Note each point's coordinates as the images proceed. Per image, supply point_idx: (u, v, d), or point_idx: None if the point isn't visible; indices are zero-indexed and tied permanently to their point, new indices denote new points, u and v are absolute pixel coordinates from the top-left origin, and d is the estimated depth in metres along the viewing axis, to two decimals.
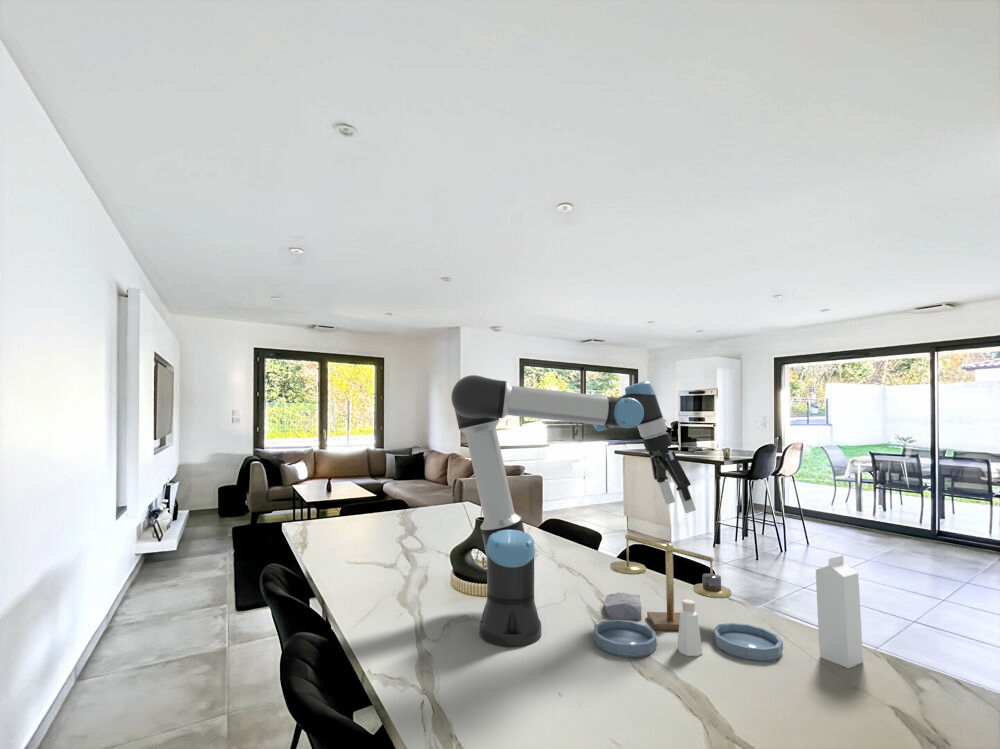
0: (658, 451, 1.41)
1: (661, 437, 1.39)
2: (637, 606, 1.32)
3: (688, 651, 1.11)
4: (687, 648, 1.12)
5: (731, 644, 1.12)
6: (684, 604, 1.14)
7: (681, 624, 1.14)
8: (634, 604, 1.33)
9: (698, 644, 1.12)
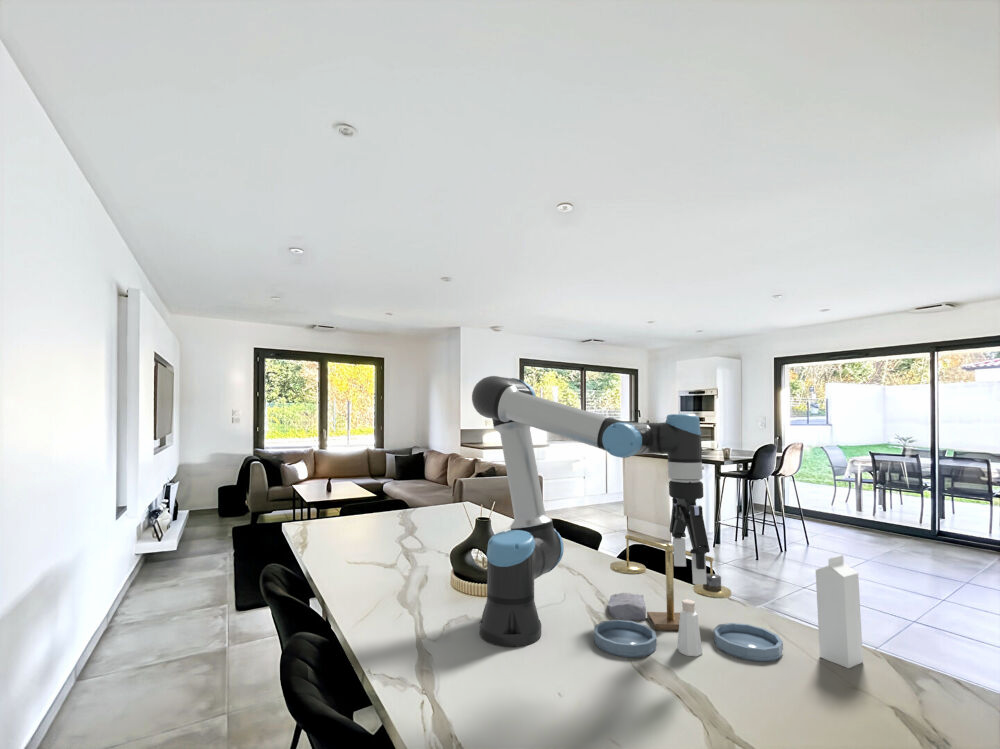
0: (683, 500, 1.15)
1: (692, 485, 1.13)
2: (641, 606, 1.32)
3: (688, 651, 1.11)
4: (687, 648, 1.12)
5: (731, 644, 1.12)
6: (684, 604, 1.14)
7: (681, 624, 1.14)
8: (639, 604, 1.32)
9: (698, 644, 1.12)
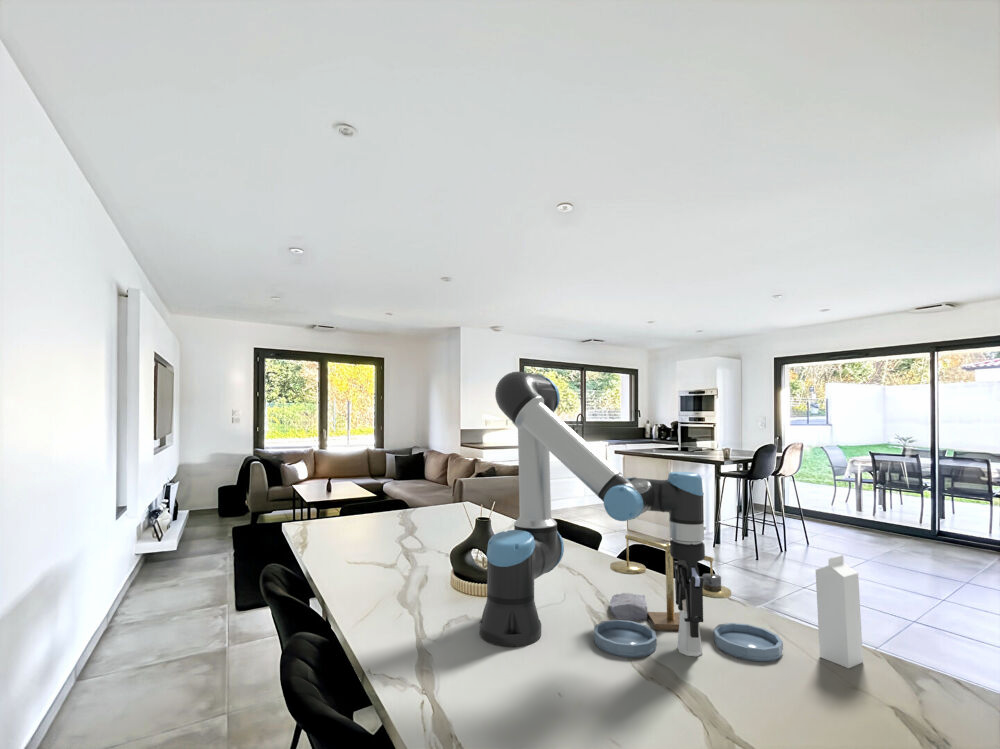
0: (684, 561, 1.14)
1: (693, 547, 1.12)
2: (643, 606, 1.32)
3: None
4: None
5: (731, 644, 1.12)
6: (684, 604, 1.14)
7: (681, 624, 1.14)
8: (640, 604, 1.32)
9: None
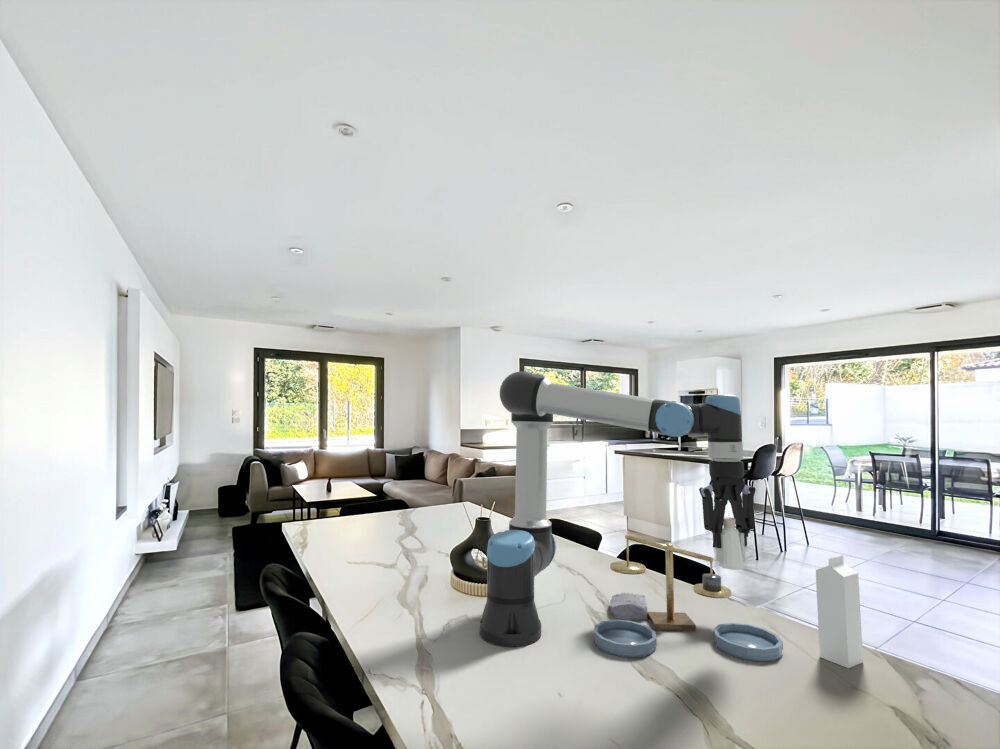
0: None
1: (712, 463, 1.18)
2: (643, 606, 1.32)
3: None
4: None
5: (731, 644, 1.12)
6: None
7: None
8: (640, 604, 1.32)
9: (727, 558, 1.15)
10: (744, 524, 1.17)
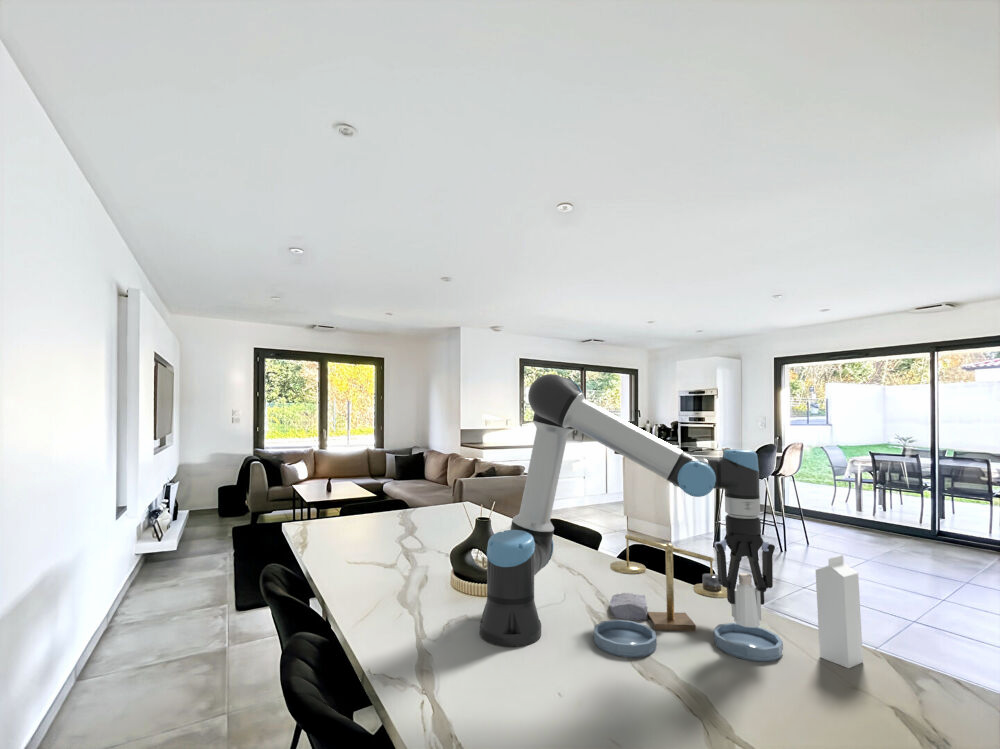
0: None
1: (727, 518, 1.18)
2: (643, 606, 1.32)
3: None
4: None
5: (731, 644, 1.12)
6: None
7: None
8: (640, 604, 1.32)
9: (741, 615, 1.15)
10: (761, 582, 1.16)
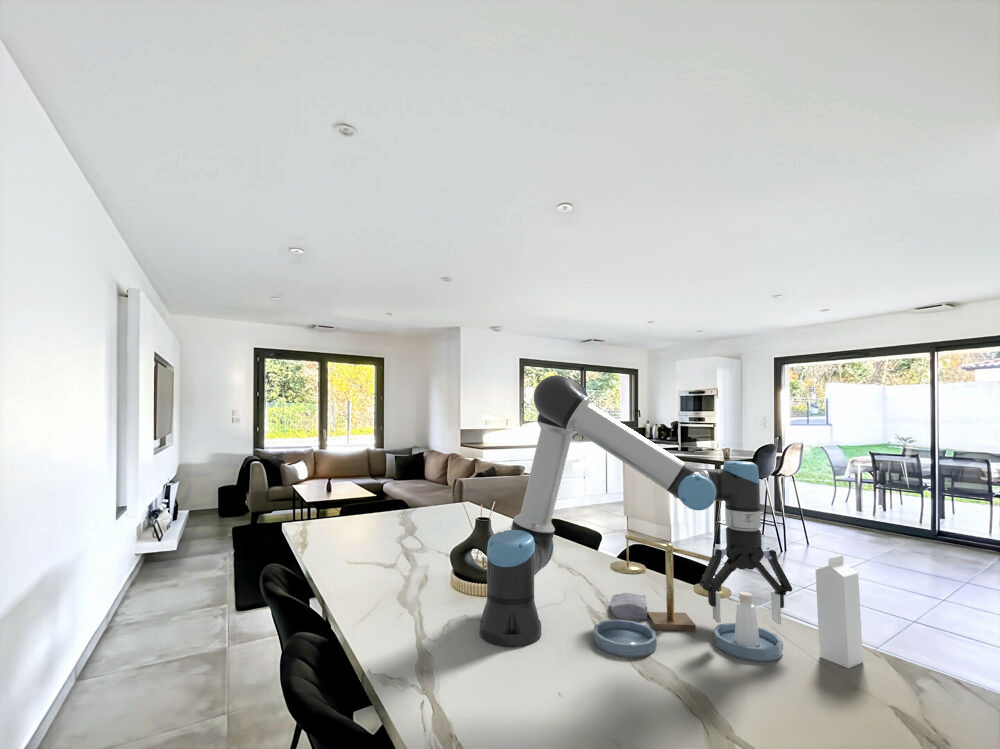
0: None
1: (727, 530, 1.18)
2: (642, 606, 1.32)
3: (735, 636, 1.17)
4: None
5: (731, 644, 1.12)
6: None
7: None
8: (640, 604, 1.32)
9: (741, 635, 1.15)
10: (778, 586, 1.16)
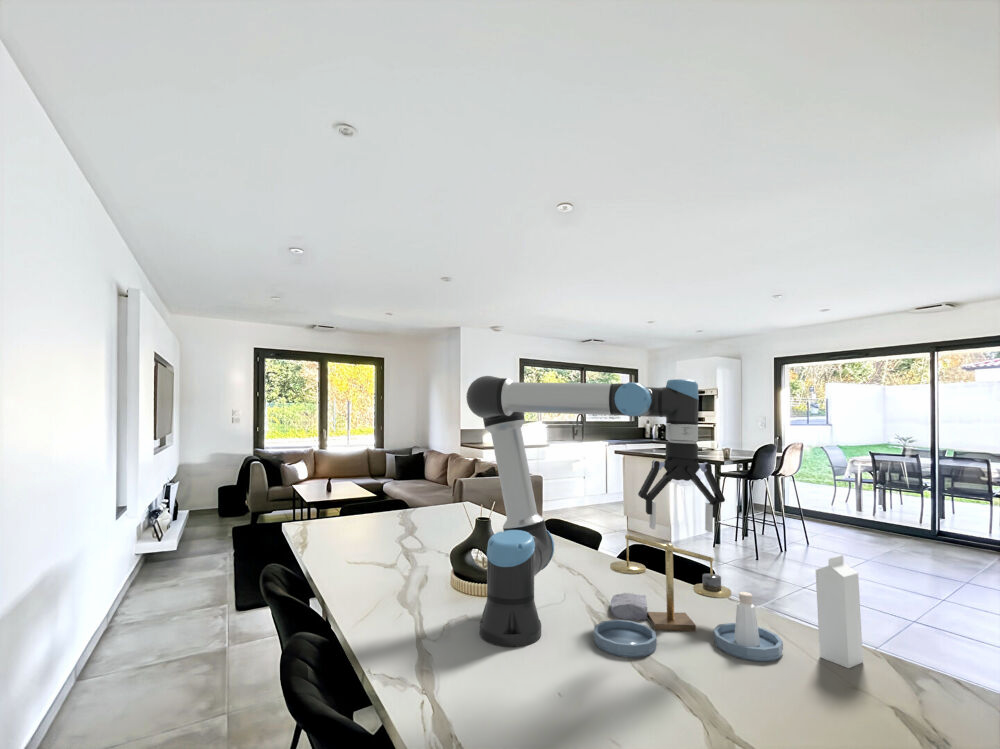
0: None
1: (666, 444, 1.24)
2: (642, 606, 1.32)
3: (735, 636, 1.17)
4: None
5: (731, 644, 1.12)
6: None
7: None
8: (640, 604, 1.32)
9: (741, 635, 1.15)
10: (711, 497, 1.22)
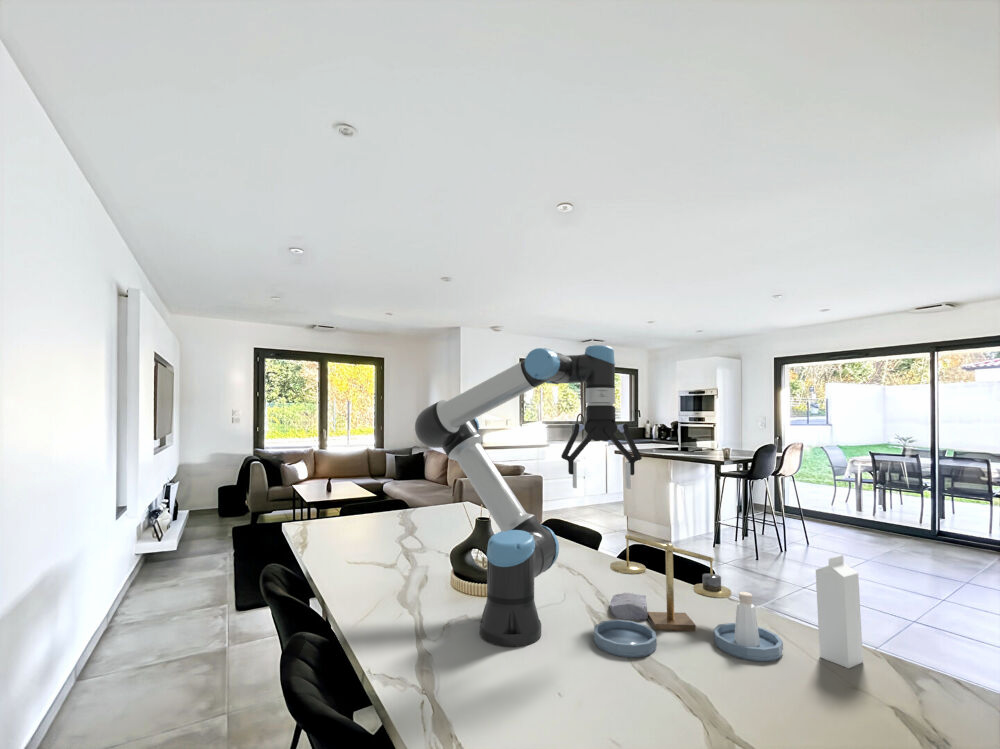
0: None
1: (586, 407, 1.30)
2: (642, 606, 1.32)
3: (735, 636, 1.17)
4: None
5: (731, 644, 1.12)
6: None
7: None
8: (640, 604, 1.32)
9: (741, 635, 1.15)
10: (629, 455, 1.28)
